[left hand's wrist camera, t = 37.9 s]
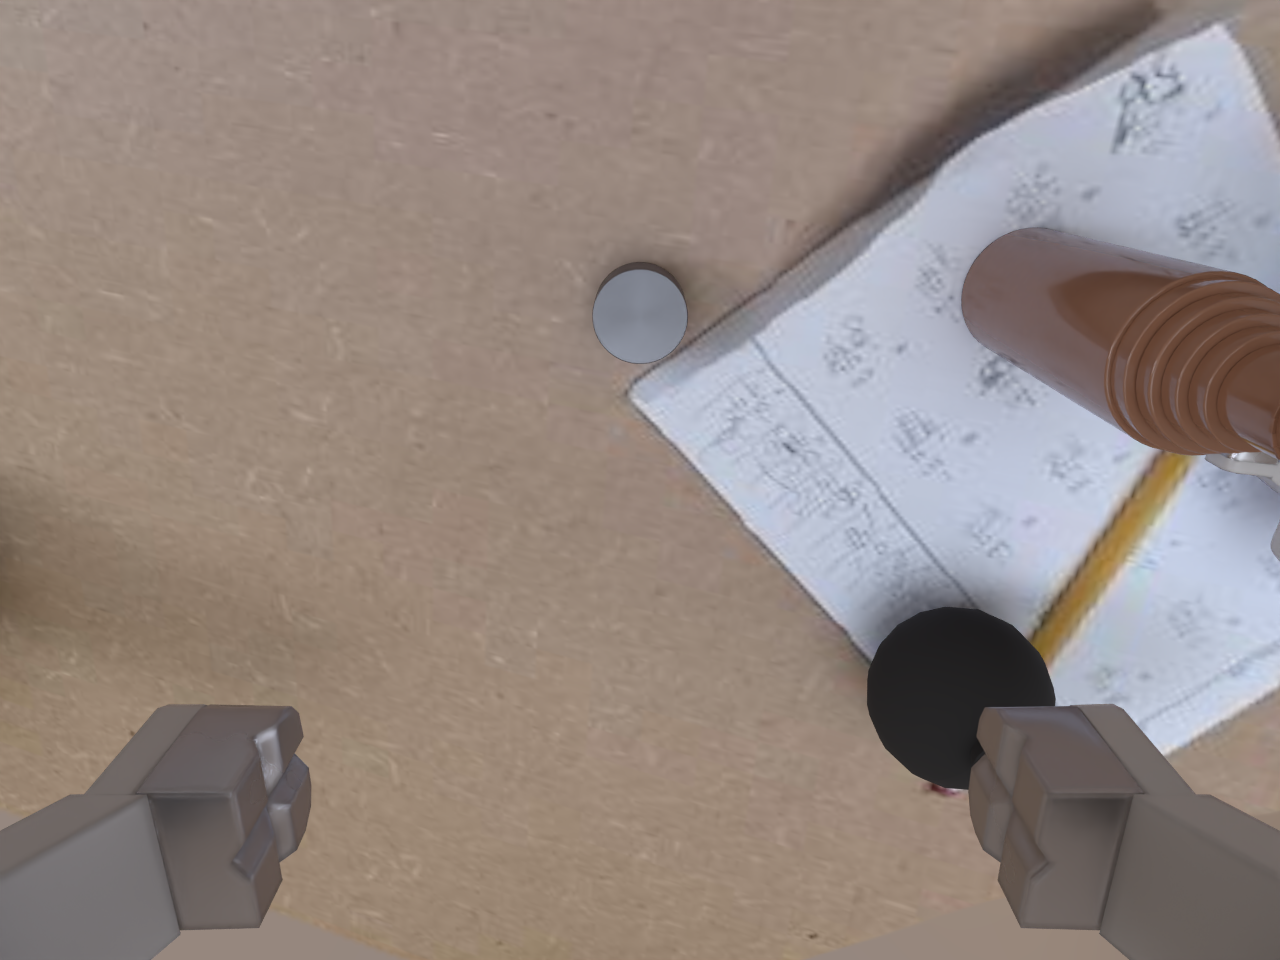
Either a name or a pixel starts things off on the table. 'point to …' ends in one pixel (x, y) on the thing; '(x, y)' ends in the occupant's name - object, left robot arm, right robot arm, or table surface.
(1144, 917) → the left robot arm
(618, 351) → the cap
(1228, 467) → the right robot arm
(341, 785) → the table surface
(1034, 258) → the bottle
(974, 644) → the bomb
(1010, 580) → the table surface
